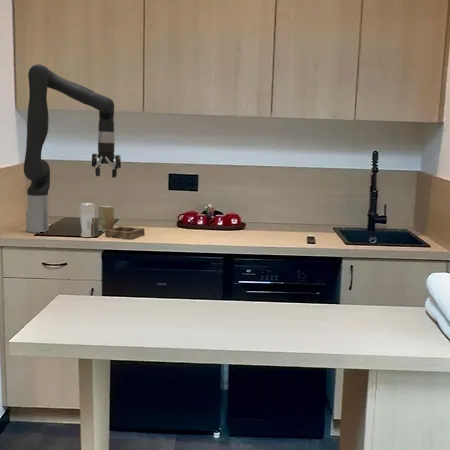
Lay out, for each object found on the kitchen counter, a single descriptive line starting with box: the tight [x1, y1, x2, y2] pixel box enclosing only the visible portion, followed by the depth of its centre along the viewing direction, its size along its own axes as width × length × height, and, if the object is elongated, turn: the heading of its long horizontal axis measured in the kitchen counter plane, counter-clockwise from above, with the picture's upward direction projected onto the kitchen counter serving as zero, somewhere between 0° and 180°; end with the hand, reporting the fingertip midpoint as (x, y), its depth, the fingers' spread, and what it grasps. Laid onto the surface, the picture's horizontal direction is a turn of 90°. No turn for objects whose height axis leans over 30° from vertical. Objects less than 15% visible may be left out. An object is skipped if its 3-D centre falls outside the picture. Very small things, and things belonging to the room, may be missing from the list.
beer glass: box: [78, 202, 96, 238], centre depth 278 cm, size 7×7×15 cm
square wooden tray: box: [104, 225, 146, 241], centre depth 284 cm, size 13×13×3 cm
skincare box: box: [97, 204, 115, 233], centre depth 292 cm, size 6×4×12 cm
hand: (106, 176), depth 289 cm, fingers open, 8 cm apart
